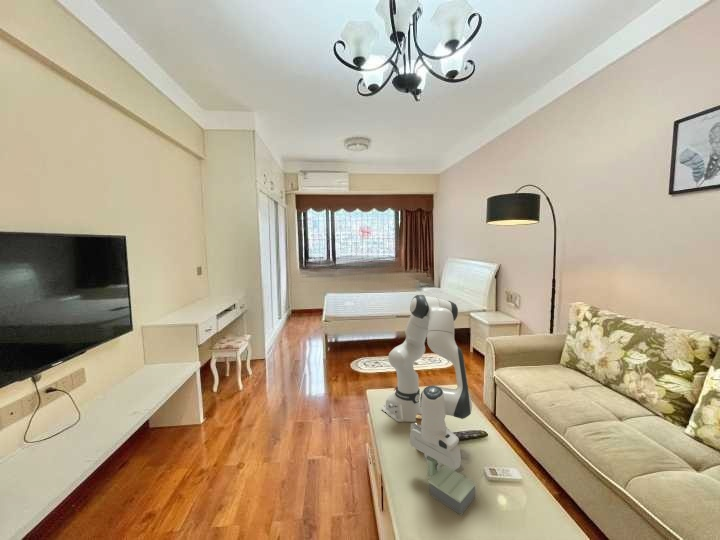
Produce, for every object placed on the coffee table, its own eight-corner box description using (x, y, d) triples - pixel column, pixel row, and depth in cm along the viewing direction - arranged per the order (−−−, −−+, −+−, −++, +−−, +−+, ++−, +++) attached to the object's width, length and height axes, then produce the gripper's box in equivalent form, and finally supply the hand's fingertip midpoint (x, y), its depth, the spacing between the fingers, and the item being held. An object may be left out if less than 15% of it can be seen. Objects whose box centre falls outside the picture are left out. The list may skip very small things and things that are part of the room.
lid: (475, 485, 108) (475, 469, 107) (460, 503, 100) (460, 486, 100) (439, 463, 118) (439, 449, 118) (423, 479, 111) (423, 463, 111)
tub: (475, 499, 108) (475, 486, 108) (461, 517, 101) (460, 503, 101) (445, 481, 117) (444, 468, 116) (430, 496, 110) (429, 483, 110)
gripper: (405, 424, 118) (406, 457, 119) (453, 449, 103) (454, 487, 104) (415, 417, 122) (416, 450, 124) (463, 440, 107) (463, 477, 109)
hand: (433, 467), depth 114 cm, fingers closed on lid
